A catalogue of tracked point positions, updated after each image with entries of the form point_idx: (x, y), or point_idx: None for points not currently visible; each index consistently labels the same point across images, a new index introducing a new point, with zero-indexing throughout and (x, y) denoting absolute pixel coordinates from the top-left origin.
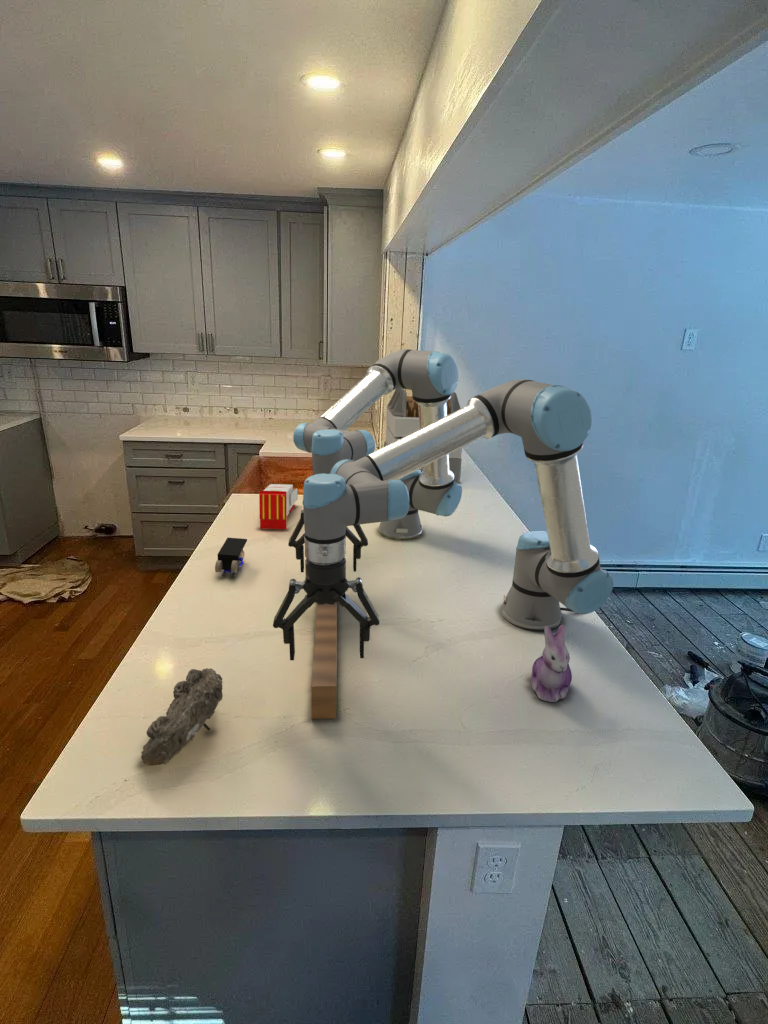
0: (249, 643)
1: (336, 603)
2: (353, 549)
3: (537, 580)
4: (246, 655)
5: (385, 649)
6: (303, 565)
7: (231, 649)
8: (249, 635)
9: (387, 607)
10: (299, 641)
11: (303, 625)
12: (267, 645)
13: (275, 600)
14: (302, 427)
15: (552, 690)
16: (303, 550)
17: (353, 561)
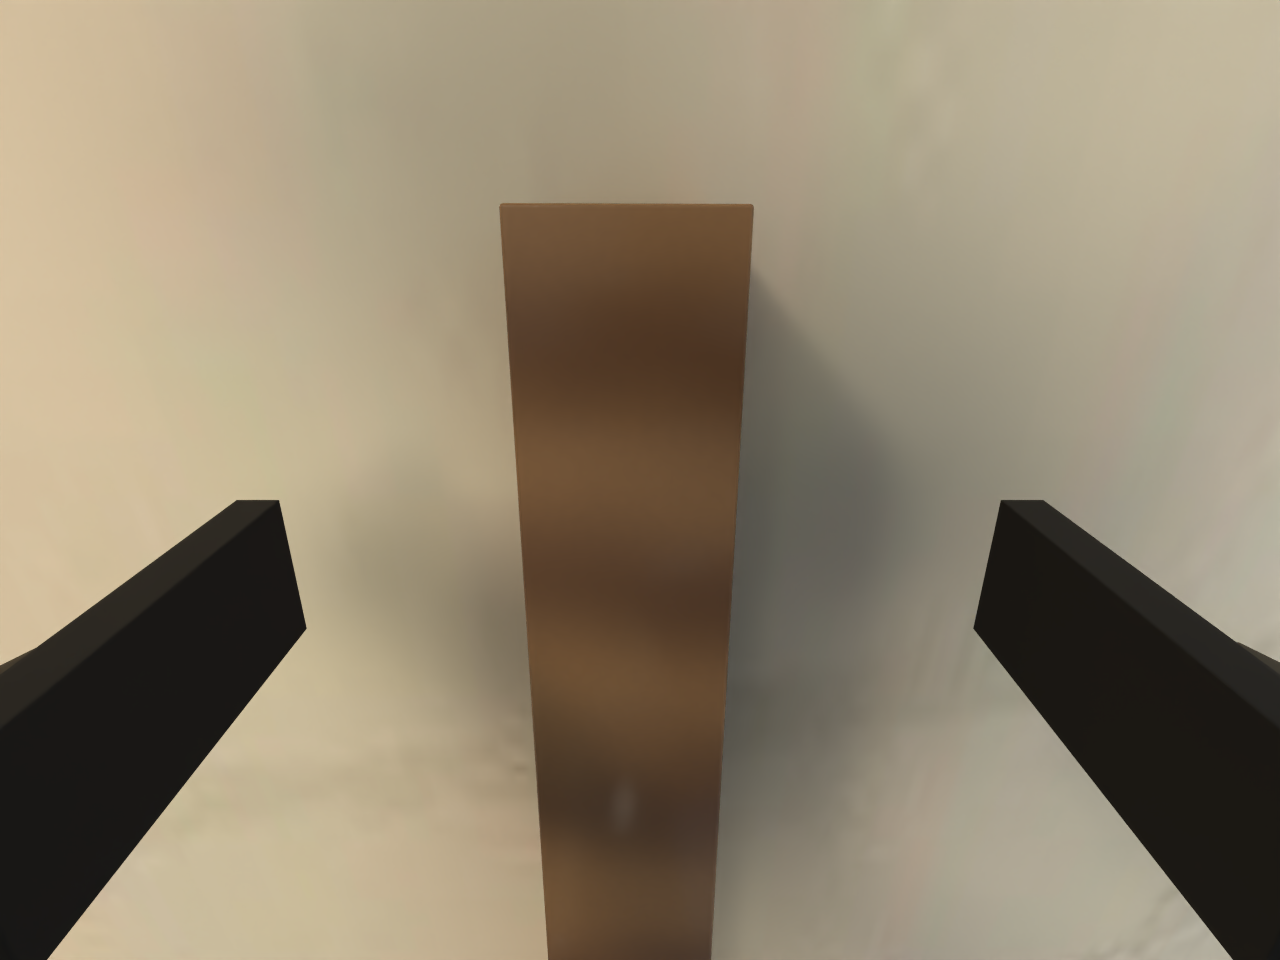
0: (199, 869)
1: (709, 955)
2: (1239, 856)
3: None
4: (225, 949)
5: (945, 907)
6: (252, 697)
7: (124, 911)
8: (168, 806)
9: (1101, 490)
10: (477, 852)
11: (476, 712)
12: (306, 883)
13: (178, 380)
14: None
15: None
16: (54, 794)
17: (1060, 721)
